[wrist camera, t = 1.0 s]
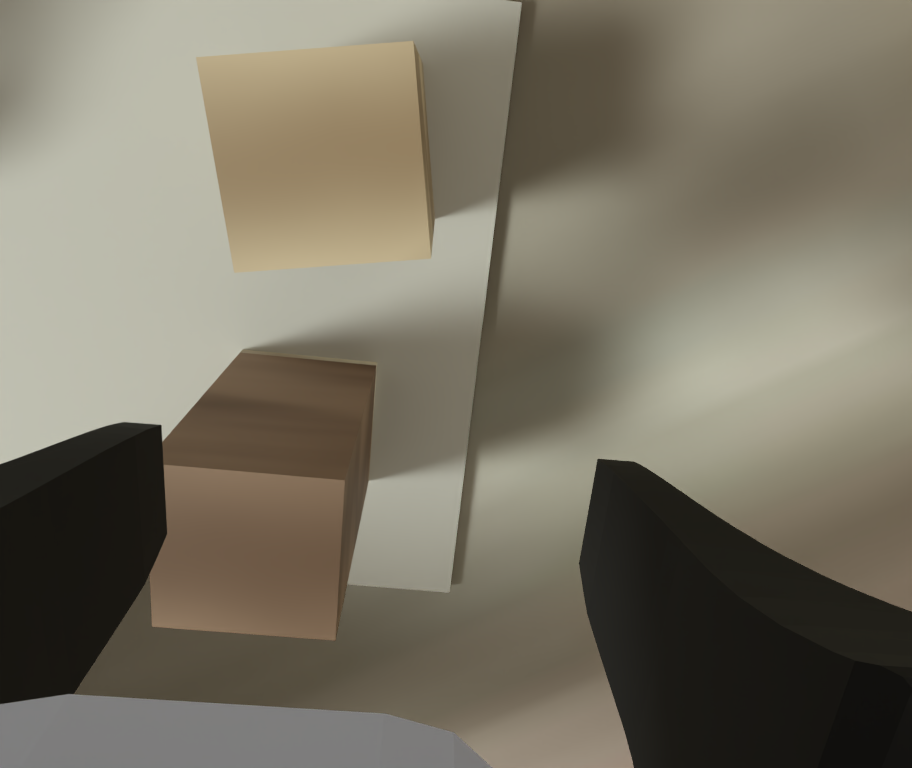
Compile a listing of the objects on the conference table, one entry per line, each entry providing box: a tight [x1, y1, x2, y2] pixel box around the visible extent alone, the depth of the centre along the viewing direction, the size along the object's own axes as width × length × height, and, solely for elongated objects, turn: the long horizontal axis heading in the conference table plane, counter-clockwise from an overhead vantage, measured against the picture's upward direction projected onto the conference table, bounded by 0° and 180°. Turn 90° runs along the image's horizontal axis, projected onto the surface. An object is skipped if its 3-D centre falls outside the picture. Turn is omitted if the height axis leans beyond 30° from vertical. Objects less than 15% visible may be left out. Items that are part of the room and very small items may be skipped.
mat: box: [0, 0, 522, 593], centre depth 21 cm, size 18×16×1 cm
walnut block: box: [149, 349, 377, 641], centre depth 19 cm, size 4×4×8 cm
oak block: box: [196, 41, 435, 273], centre depth 17 cm, size 4×4×6 cm
